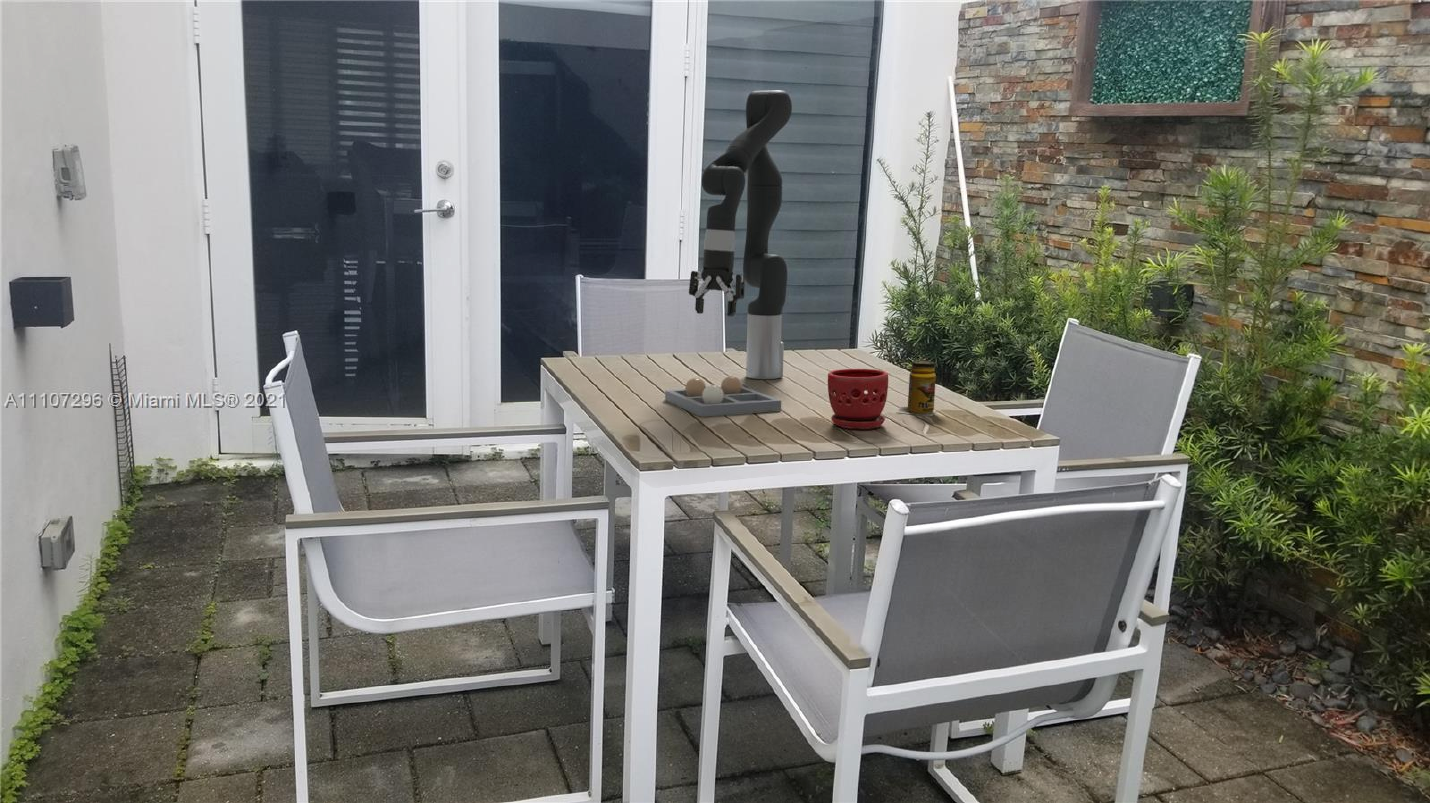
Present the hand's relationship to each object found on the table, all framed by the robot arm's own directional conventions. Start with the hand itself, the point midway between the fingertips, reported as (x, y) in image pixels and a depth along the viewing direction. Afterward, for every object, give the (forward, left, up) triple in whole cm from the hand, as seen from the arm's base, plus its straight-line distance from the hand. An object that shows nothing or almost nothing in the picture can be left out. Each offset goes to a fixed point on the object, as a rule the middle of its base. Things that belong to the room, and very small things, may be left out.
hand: (714, 314), depth 277 cm
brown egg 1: (+10, +11, -16) cm, 22 cm away
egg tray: (+5, +16, -20) cm, 26 cm away
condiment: (-35, +38, -20) cm, 55 cm away
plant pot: (-13, +46, -20) cm, 52 cm away
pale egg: (+10, +21, -16) cm, 28 cm away
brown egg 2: (+1, +11, -16) cm, 20 cm away
